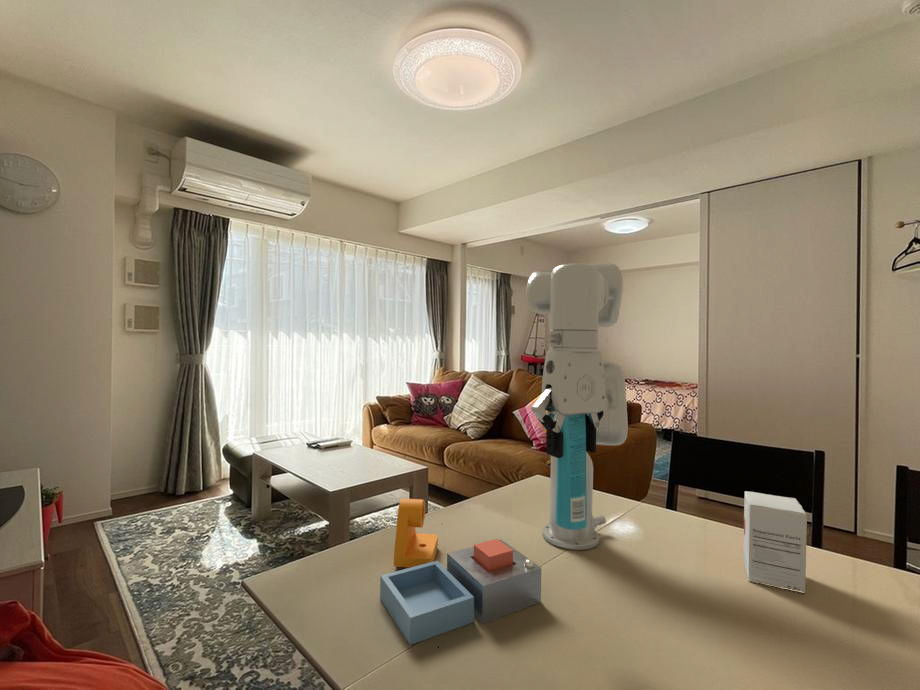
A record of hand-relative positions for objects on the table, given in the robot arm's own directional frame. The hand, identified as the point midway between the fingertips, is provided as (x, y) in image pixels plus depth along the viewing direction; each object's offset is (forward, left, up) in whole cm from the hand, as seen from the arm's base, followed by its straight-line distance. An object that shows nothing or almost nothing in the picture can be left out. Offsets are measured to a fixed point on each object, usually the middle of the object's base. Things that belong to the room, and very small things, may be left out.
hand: (571, 452), depth 69 cm
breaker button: (+7, -12, -26) cm, 29 cm away
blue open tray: (+19, -13, -27) cm, 36 cm away
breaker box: (+7, -12, -27) cm, 30 cm away
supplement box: (-45, +9, -27) cm, 53 cm away
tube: (0, 0, -12) cm, 12 cm away
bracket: (+13, -30, -28) cm, 43 cm away
